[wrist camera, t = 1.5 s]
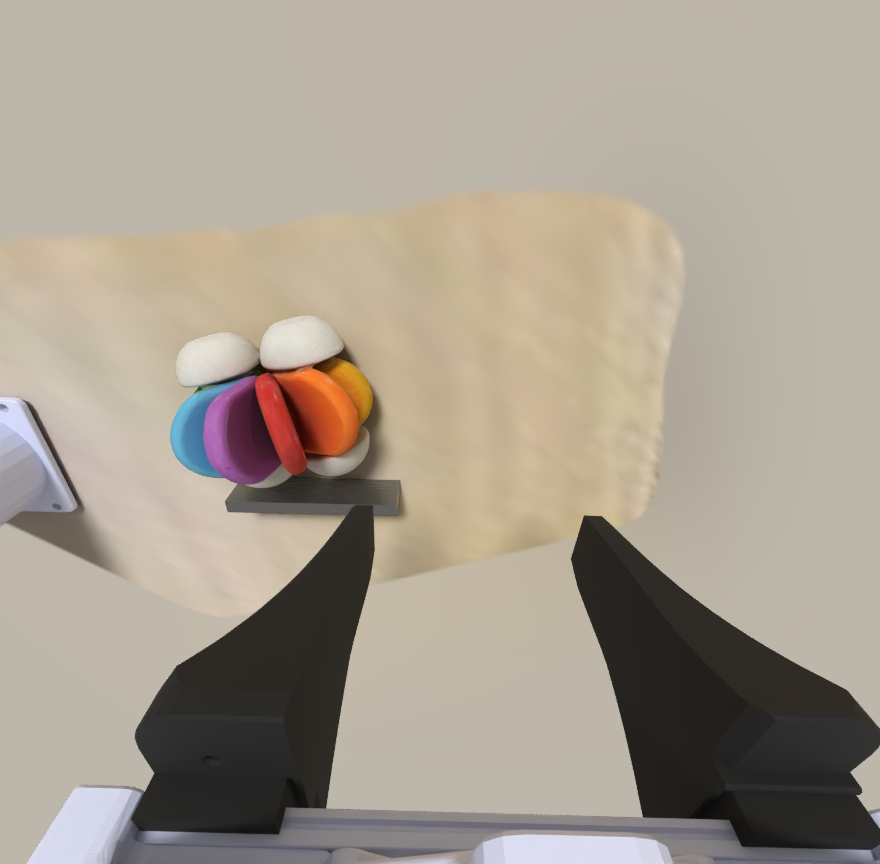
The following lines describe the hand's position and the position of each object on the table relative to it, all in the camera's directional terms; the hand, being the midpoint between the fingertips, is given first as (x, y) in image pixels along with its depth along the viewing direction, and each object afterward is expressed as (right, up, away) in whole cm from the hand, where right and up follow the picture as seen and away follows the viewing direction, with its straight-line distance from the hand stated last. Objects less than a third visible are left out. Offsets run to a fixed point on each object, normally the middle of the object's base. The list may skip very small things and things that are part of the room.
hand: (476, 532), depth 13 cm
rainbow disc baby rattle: (-10, +6, +9) cm, 15 cm away
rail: (-9, 0, +12) cm, 15 cm away
